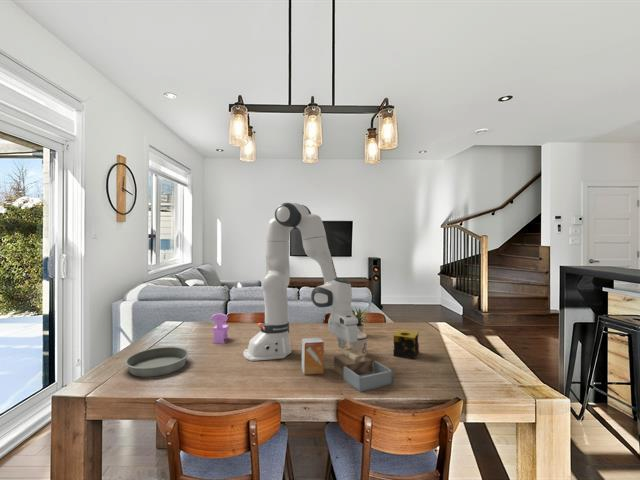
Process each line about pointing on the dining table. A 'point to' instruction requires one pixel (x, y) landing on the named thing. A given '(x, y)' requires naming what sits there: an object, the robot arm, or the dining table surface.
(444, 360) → the dining table surface
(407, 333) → the candle
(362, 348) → the teacup with lid
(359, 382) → the tray
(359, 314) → the house plant
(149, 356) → the cake pan
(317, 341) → the small box
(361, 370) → the brown and beige block
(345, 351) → the rear tile
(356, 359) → the front tile
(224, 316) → the toy chair
